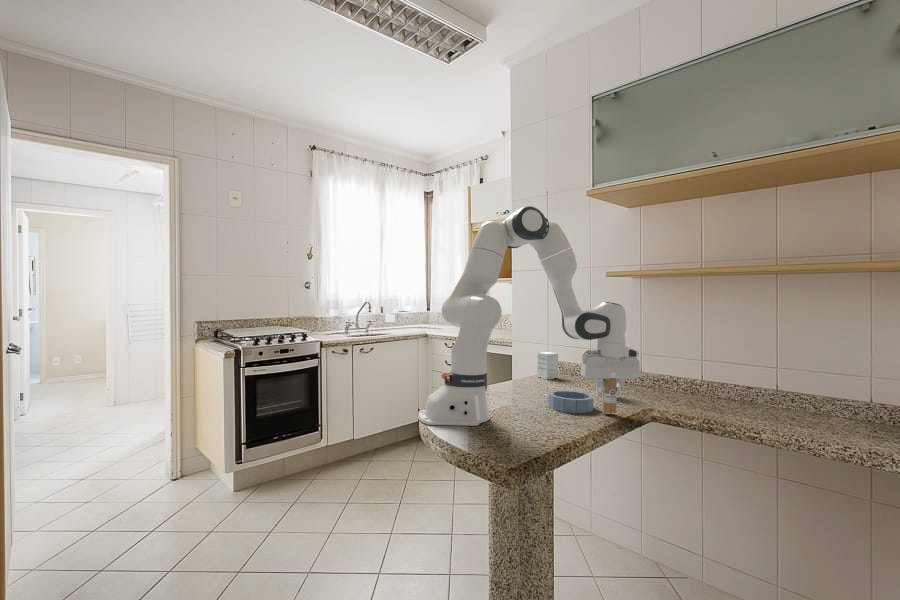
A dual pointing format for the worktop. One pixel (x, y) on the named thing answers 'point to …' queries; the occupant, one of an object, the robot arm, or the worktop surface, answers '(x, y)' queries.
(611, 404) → the sprinkles bottle
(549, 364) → the white canister
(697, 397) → the worktop surface
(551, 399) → the bowl
